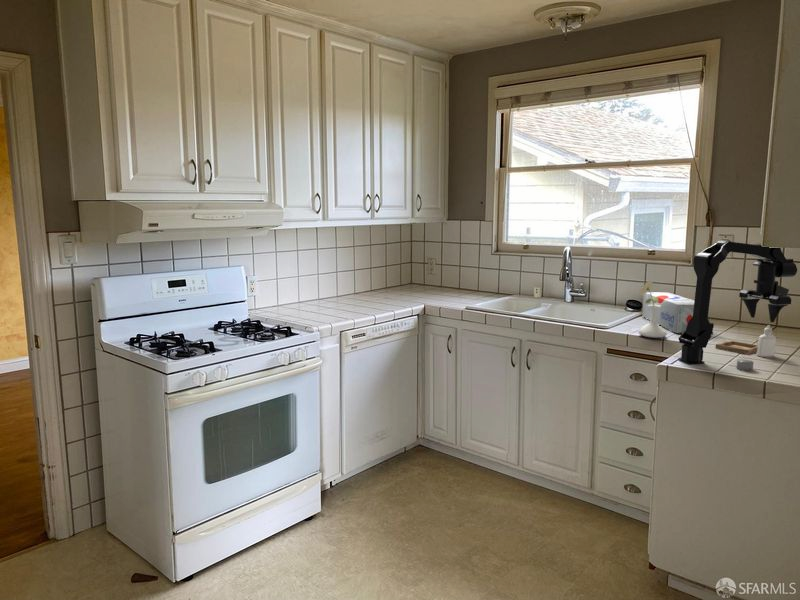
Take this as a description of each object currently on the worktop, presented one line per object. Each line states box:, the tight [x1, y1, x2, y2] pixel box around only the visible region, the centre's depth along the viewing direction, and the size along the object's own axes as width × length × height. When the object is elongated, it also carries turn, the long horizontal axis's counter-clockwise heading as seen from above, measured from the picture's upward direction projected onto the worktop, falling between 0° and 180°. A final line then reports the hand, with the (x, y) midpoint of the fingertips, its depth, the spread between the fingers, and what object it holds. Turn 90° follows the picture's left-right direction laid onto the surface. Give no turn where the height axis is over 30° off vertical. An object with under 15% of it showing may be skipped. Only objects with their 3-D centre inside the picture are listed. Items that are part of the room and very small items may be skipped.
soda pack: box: [642, 291, 695, 334], centre depth 281 cm, size 41×13×14 cm, turn 179°
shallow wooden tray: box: [715, 340, 758, 355], centre depth 235 cm, size 12×12×2 cm
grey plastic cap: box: [735, 358, 755, 372], centre depth 207 cm, size 5×5×3 cm
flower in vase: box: [638, 279, 668, 339], centre depth 255 cm, size 13×11×25 cm
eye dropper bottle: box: [756, 324, 777, 358], centre depth 223 cm, size 4×6×12 cm
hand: (762, 319), depth 219 cm, fingers open, 9 cm apart
